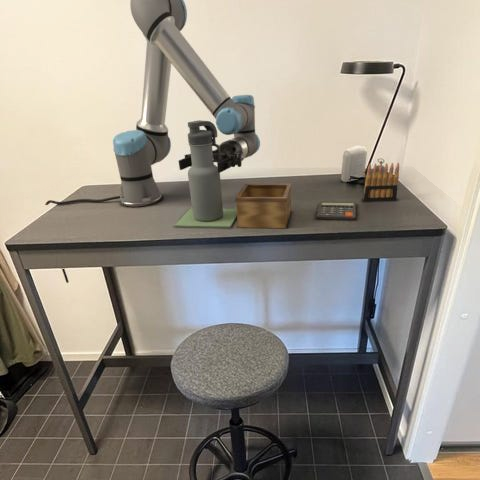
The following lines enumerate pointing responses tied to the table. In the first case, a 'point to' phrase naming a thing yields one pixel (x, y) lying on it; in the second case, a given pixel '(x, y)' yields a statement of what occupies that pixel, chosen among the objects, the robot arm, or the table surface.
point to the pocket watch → (378, 169)
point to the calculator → (336, 210)
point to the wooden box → (264, 205)
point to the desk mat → (222, 222)
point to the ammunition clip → (381, 184)
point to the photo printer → (353, 162)
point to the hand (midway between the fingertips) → (198, 166)
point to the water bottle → (204, 172)
